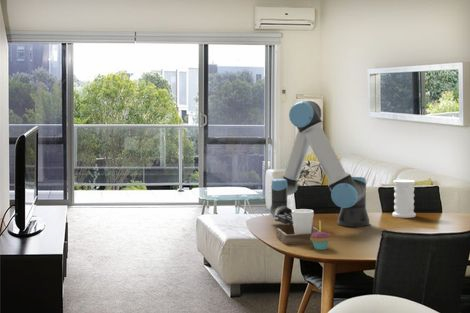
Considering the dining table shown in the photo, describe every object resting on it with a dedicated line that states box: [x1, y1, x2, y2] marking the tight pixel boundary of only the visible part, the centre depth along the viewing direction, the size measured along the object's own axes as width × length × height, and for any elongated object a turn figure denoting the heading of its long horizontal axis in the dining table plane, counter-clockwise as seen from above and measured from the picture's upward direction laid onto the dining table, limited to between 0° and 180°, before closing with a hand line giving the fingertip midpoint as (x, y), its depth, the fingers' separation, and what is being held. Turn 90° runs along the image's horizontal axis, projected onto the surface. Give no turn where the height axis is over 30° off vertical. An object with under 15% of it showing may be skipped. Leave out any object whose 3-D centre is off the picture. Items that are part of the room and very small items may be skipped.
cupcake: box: [310, 220, 332, 251], centre depth 305 cm, size 9×8×12 cm
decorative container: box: [392, 179, 417, 219], centre depth 379 cm, size 12×12×18 cm
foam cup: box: [291, 208, 315, 234], centre depth 321 cm, size 10×9×13 cm
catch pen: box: [276, 226, 319, 245], centre depth 323 cm, size 16×17×4 cm
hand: (297, 223), depth 326 cm, fingers closed
